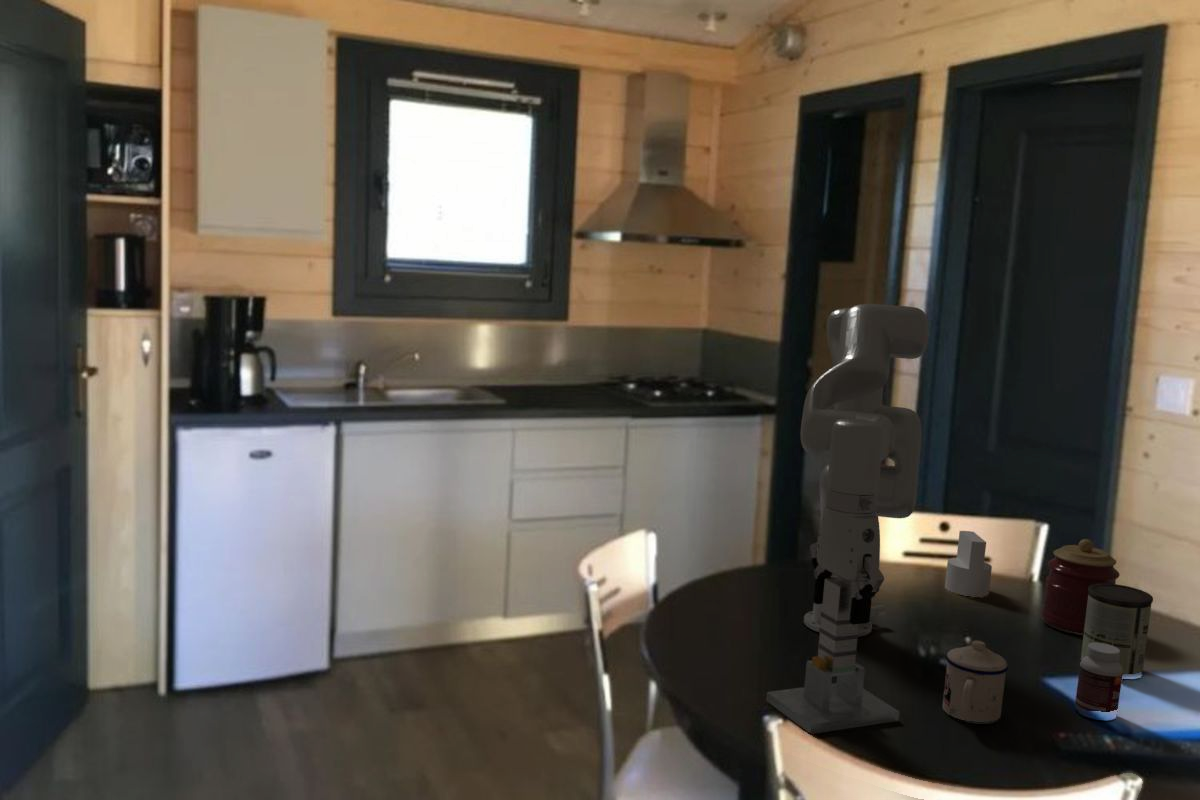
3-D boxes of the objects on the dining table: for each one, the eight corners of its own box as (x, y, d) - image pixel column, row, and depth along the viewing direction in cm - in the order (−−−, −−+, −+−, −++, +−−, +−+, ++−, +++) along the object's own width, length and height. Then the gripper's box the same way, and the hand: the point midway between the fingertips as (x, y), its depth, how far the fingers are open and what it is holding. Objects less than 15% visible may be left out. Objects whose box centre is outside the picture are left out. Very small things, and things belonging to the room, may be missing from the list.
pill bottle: (1118, 726, 170) (1127, 658, 169) (1074, 717, 172) (1083, 650, 171) (1115, 711, 176) (1124, 645, 174) (1073, 703, 178) (1081, 638, 176)
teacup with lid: (946, 697, 178) (954, 627, 176) (1005, 710, 173) (1014, 640, 172) (931, 723, 167) (939, 650, 165) (994, 739, 163) (1003, 663, 161)
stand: (850, 689, 178) (855, 638, 177) (898, 720, 167) (904, 666, 166) (766, 701, 172) (770, 647, 170) (810, 734, 161) (815, 677, 159)
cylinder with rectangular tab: (994, 598, 231) (1001, 543, 230) (951, 596, 231) (958, 540, 230) (980, 585, 240) (986, 532, 238) (939, 583, 240) (945, 529, 238)
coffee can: (1076, 654, 201) (1086, 579, 199) (1138, 664, 198) (1148, 588, 196) (1081, 673, 191) (1091, 595, 189) (1146, 684, 188) (1157, 605, 186)
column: (838, 663, 171) (846, 576, 169) (854, 673, 167) (863, 585, 165) (815, 666, 170) (823, 578, 168) (831, 676, 166) (840, 587, 164)
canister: (1093, 643, 207) (1105, 552, 205) (1028, 622, 217) (1038, 535, 214) (1123, 630, 216) (1135, 542, 213) (1059, 611, 226) (1070, 527, 223)
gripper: (909, 515, 158) (897, 630, 161) (837, 487, 174) (827, 593, 177) (866, 517, 155) (855, 635, 158) (797, 489, 171) (788, 596, 173)
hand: (840, 612), depth 167 cm, fingers open, 8 cm apart
